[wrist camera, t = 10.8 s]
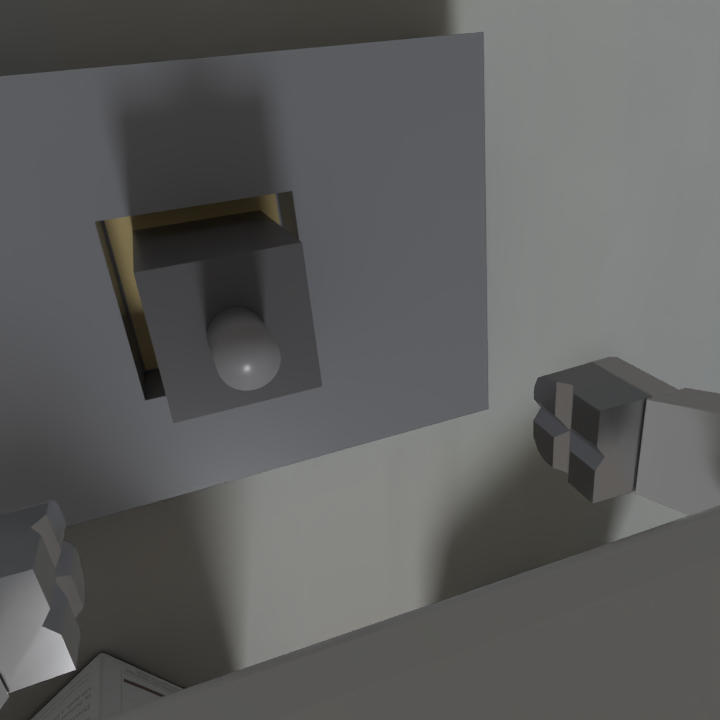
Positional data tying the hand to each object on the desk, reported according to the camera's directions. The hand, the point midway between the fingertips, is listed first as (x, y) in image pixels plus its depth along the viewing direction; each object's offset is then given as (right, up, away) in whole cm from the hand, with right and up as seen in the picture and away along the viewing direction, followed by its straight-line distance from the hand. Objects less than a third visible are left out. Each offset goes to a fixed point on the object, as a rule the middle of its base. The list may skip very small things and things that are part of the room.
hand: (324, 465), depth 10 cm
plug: (-5, +5, +12) cm, 14 cm away
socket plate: (-5, +5, +12) cm, 14 cm away
